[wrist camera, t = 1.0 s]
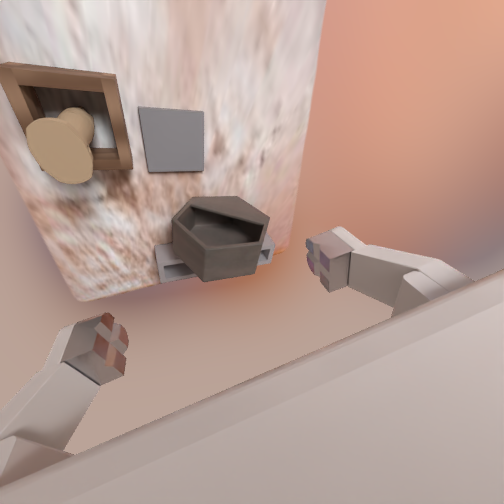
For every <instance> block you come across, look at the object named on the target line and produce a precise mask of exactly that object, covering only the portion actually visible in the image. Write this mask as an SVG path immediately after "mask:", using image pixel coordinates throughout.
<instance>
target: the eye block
mask: <svg viewBox="0 0 504 504" xmlns="http://www.w3.org/2000/svg"><path fill="white" fill-rule="evenodd" d="M0 83H1V85H2V87H3V89H4V91H5V93H6V95H7V98H8V100H9V102H10V104H11V106H12V108H13V110H14V112H15V115H16V117H17V119H18V121H19V123H20V125H21V127H22V129H23V132H24V134H25V136H26V128H27V127H28V125H29V124H31V123H32V122H33V121H35V120H37V119H40V118H46V117H45V114H44V112H43V109H42V107H41V104H40V102H39V99H38V97H37V94H36V92H35V89H34V87H33V86H37V87H48V88H59V89H70V90H82V91H93V92H104V95H105V99H106V103H107V107H108V112H109V116H110V120H111V124H112V128H113V133H114V137H115V141H116V145H117V148H90V150H91V152H92V155H93V170H120V169H133V161H132V153H131V148H130V144H129V139H128V134H127V129H126V124H125V119H124V114H123V109H122V104H121V99H120V94H119V89H118V84H117V79H116V74H108V73H100V72H91V71H83V70H74V69H65V68H57V67H48V66H39V65H31V64H22V63H13V62H7V63H3V64H0ZM26 138H27V136H26ZM40 168H41V166H40ZM41 170H42V171H45V170H43V169H42V168H41Z"/></svg>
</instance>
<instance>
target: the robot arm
mask: <svg viewBox="0 0 504 504" xmlns="http://www.w3.org/2000/svg"><path fill="white" fill-rule="evenodd" d="M306 247H307V249H308V250H309V252H308V253H307V262H308V265H309V267H310V269H311V271H312V272H313V274H314V275H316V276H319V277H320V282H321V283H322V285H323V286H324V287H325V288H326V289H327V291H328V292H329V293H330V292H332V291H335V290H338V289H341V288H343V287H346V286H348V287H350V288H352V289H354V290H356V291H359V292H361V293H363V294H365V295H367V296H370V297H372V298H374V299H376V300H379V301H380V302H383V303H385V304H387V305H389V306H391V307H394V309H393V312H392V316H391V318H390V319H387V320H385V321H383V322H381V323H378V324H376V325H373V326H371V327H369V328H367V329H365V330H362V331H360V332H358V333H355V334H353V335H350V336H348V337H346V338H344V339H341V340H339V341H337V342H334V343H332V344H330V345H328V346H325V347H323V348H320V349H318V350H316V351H314V352H311V353H309V354H307V355H304V356H302V357H300V358H297V359H295V360H293V361H290V362H288V363H286V364H284V365H281V366H279V367H277V368H274V369H272V370H270V371H267V372H265V373H263V374H260V375H258V376H256V377H254V378H252V379H249V380H247V381H244V382H242V383H240V384H238V385H235V386H233V387H231V388H228V389H226V390H224V391H221V392H219V393H217V394H215V395H212V396H210V397H208V398H205V399H203V400H201V401H198V402H196V403H194V404H192V405H189V406H187V407H185V408H182V409H180V410H178V411H176V412H173V413H171V414H169V415H166V416H164V417H162V418H160V419H157V420H155V421H152V422H150V423H148V424H145V425H143V426H141V427H139V428H136V429H134V430H132V431H129V432H127V433H125V434H122V435H120V436H118V437H116V438H113V439H111V440H109V441H106V442H104V443H102V444H99V445H97V446H95V447H92V448H91V449H88V450H86V451H84V452H81V453H79V454H76V455H74V454H71V453H68V452H65V451H63V450H64V448H65V446H66V445H67V443H68V441H69V440H70V438H71V436H72V435H73V433H74V431H75V429H76V428H77V426H78V424H79V423H80V421H81V419H82V418H83V416H84V414H85V412H86V411H87V409H88V407H89V406H90V404H91V402H92V401H93V399H94V397H95V396H96V394H97V392H98V390H99V389H100V386H101V385H103V384H105V383H107V382H110V381H112V380H114V379H117V378H119V377H121V376H124V371H125V365H126V357H125V356H124V355H123V354H124V352H125V351H126V350H127V348H128V342H129V340H128V335H127V332H126V330H125V328H124V327H123V326H122V325H120V324H117V323H114V317H113V316H112V315H111V314H110V313H103V314H100V315H97V316H94V317H91V318H88V319H85V320H82V321H79V322H77V323H74V324H71V325H68V326H66V327H63V328H62V329H61V330H60V331H59V333H58V336H57V338H56V340H55V342H54V345H53V347H52V349H51V351H50V353H49V356H48V358H47V360H46V363H45V365H44V367H43V369H42V371H40V372H37V373H36V374H35V375H34V376H33V377H32V378H31V379H30V380H29V381H28V382H27V383H26V385H24V387H23V388H22V389H21V390H20V391H19V392H18V393H17V394H16V395H15V396H14V397H13V398H12V399H11V400H10V401H9V402H8V403H7V404H6V405H5V407H3V409H2V410H1V411H0V504H504V269H502V270H500V271H498V272H496V273H493V274H491V275H489V276H486V277H484V278H482V279H480V280H477V281H473V280H472V279H470V278H469V277H467V276H465V275H464V274H462V273H460V272H459V271H457V270H456V269H454V268H452V267H451V266H449V265H447V264H446V263H444V262H443V261H441V260H439V259H435V258H430V257H425V256H420V255H416V254H411V253H407V252H402V251H398V250H393V249H389V248H384V247H379V246H374V245H368V246H367V245H365V244H364V243H363V242H361V241H360V240H359V239H357V238H356V237H355V236H353V235H352V234H351V233H349V232H348V231H347V230H345V229H344V228H343V227H340V226H339V227H336V228H333V229H331V230H329V231H327V232H324V233H321V234H318V235H316V236H313V237H310V238H308V239H306Z"/></svg>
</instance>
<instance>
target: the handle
mask: <svg viewBox="0 0 504 504" xmlns="http://www.w3.org/2000/svg"><path fill="white" fill-rule="evenodd" d="M26 136H27V144H28V147H29V150H30V151H31V153H32V155H33V156H34V158H35V159H36V161H37V163H38V164H39V165H40V166H41V168H42V169H43V170H45V171H46V172H47V173H48V174H50V175H51V176H52V177H54V178H55V179H56V180H58V181H59V182H62V183H67V184H78V183H83V182H85V181H88V180H89V179H90V178H91V177H92V175H93V155H92V152H91V150H90V147H89V144H90V142H91V141H92V139H93V136H94V119H93V117H92V115H90V114H88V113H87V112H86V111H85V110H84V108H83V107H81V106H79V107H69V108H68V109H65V110H64V111H62V112H61V113H60V114H59V116H58V117H57V118H40V119H37V120H35V121H33V122H32V123H31V124H29V125H28V127H27V128H26Z"/></svg>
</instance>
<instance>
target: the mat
mask: <svg viewBox="0 0 504 504" xmlns="http://www.w3.org/2000/svg"><path fill="white" fill-rule="evenodd" d="M138 108H139V115H140V121H141V127H142V133H143V139H144V145H145V152H146V158H147V164H148V170H149V172H167V171H204V112H203V111H191V110H178V109H164V108H150V107H138Z"/></svg>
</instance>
